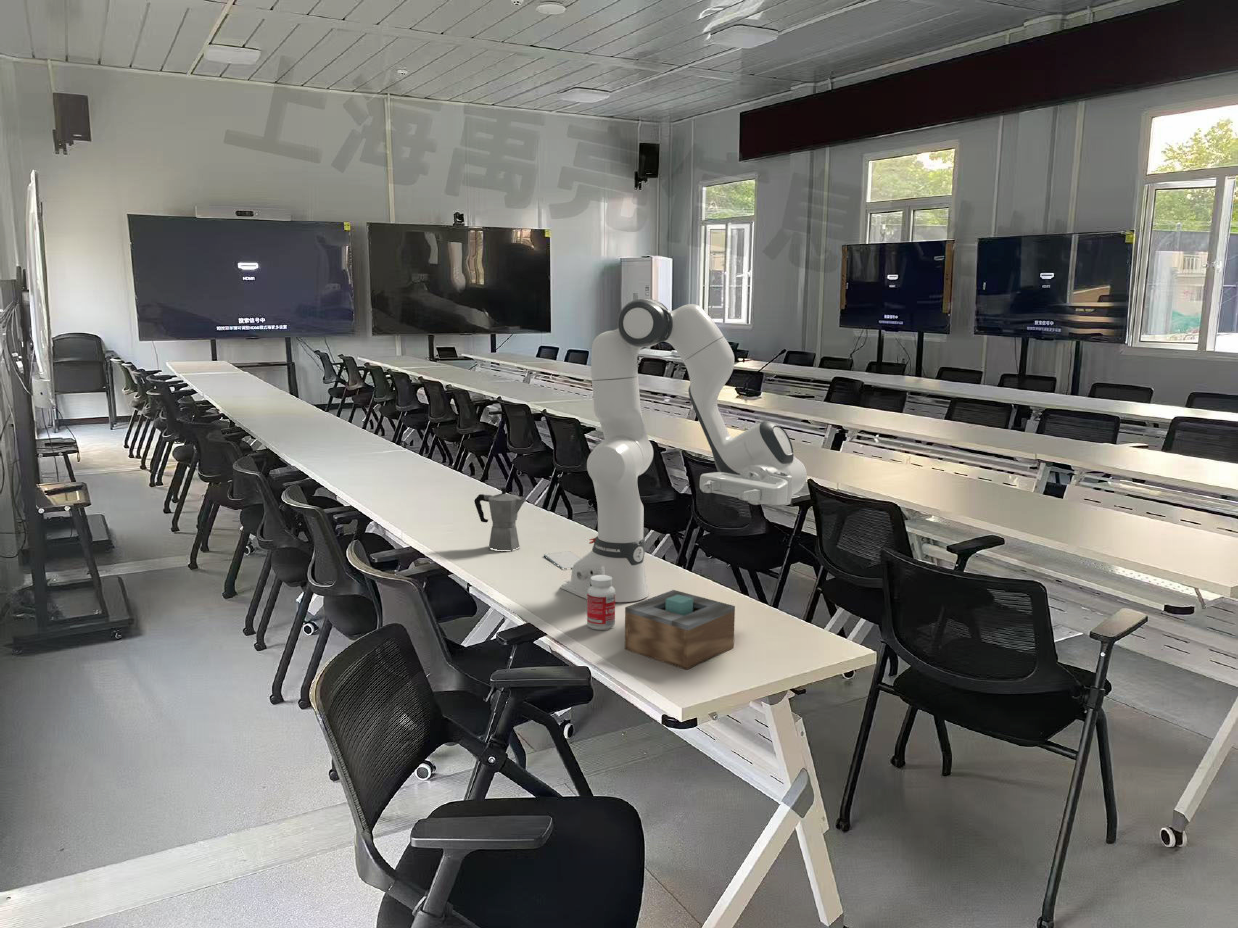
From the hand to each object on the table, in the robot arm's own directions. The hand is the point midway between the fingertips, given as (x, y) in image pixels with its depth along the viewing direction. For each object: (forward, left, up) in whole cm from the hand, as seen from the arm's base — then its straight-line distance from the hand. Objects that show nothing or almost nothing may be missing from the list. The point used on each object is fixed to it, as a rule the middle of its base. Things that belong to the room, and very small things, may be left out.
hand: (722, 492), depth 195 cm
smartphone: (-63, +17, -31) cm, 72 cm away
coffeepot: (-87, +14, -31) cm, 93 cm away
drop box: (0, -14, -31) cm, 34 cm away
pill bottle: (-21, -15, -31) cm, 40 cm away
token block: (0, -14, -30) cm, 33 cm away
